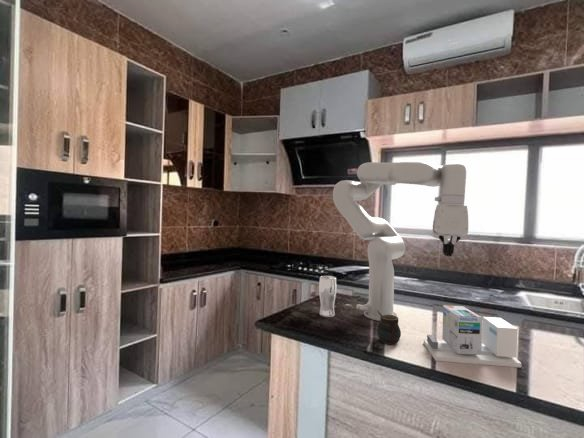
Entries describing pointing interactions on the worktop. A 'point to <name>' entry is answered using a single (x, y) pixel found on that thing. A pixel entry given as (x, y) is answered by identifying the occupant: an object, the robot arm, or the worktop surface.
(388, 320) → the mate gourd
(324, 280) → the beer glass
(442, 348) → the mounting plate
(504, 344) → the mounted module
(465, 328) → the light bulb box
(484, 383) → the worktop surface
